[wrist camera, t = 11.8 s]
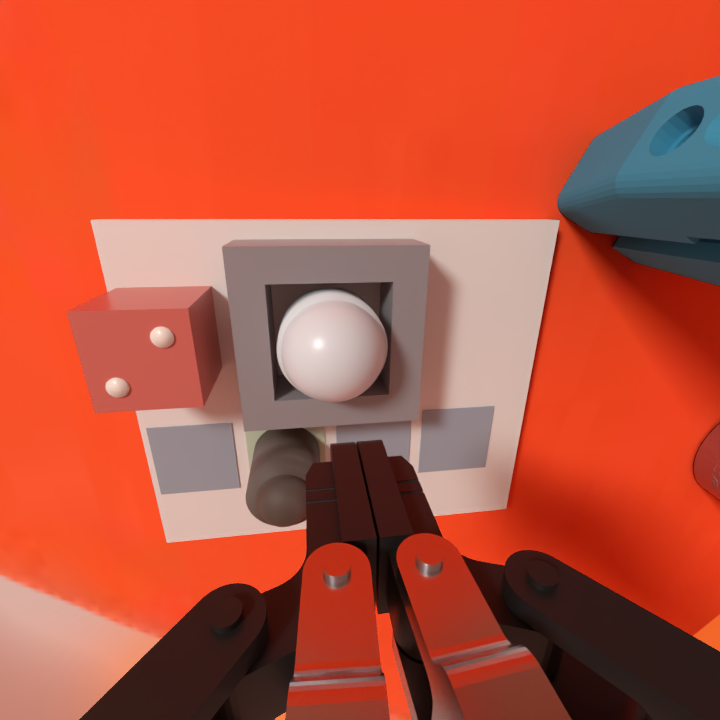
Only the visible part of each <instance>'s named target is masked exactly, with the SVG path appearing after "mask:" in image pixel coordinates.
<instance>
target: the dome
mask: <svg viewBox="0 0 720 720" xmlns="http://www.w3.org/2000/svg"><path fill="white" fill-rule="evenodd" d="M387 350H388V344H387V336H386V332H385V329H384V327H383V325H382V323H381V321H380V320H379V318H378V317H377V315H376V313H375V312H374V310H373V309H372V307H371V306H370V305H369V304H368V303H367V302H366V301H365V300H364V299H363V298H362V297H360V296H359V295H357V294H356V293H353V292H351V291H349V290H346V289H342V288H336V287H325V288H319V289H315V290H312V291H309V292H307V293H305V294H303V295H302V296H300V297H299V298H298V299H296V300H295V301H294V302H293V303H292V304H291V305H290V307H289V308H288V309H287V311H286V312H285V314H284V316H283V318H282V320H281V324H280V328H279V334H278V340H277V358H278V362H279V366H280V368H281V370H282V372H283V374H284V376H285V377H286V379H287V380H288V381H289V382H290V383H291V384H292V385H293V386H294V387H295V388H296V389H298V390H299V391H301V392H302V393H304V394H305V395H307V396H309V397H311V398H313V399H316V400H320V401H324V402H342V401H346V400H350V399H352V398H355V397H357V396H359V395H360V394H362V393H363V392H364V391H366V390H367V389H368V388H369V387H370V386H371V385H372V384H373V383H374V381H375V380H376V379H377V377H378V375H379V374H380V372H381V370H382V368H383V366H384V364H385V361H386V357H387Z"/></svg>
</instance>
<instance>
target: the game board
mask: <svg viewBox="0 0 720 720" xmlns="http://www.w3.org/2000/svg"><path fill="white" fill-rule="evenodd" d="M559 222H560V220H551V219H97V220H91V224H92V228H93V232H94V237H95V241H96V245H97V249H98V254H99V258H100V262H101V266H102V270H103V275H104V279H105V283H106V287H107V292H109V291H111V290H113V289H115V288H134V287H183V286H211V287H212V295H213V302H214V309H215V317H216V324H217V331H218V339H219V346H220V354H221V361H222V369H221V371H220V374H219V376H218V378H217V380H216V382H215V384H214V386H213V388H212V391H211V393H210V395H209V397H208V399H207V401H206V403H205V405H204V407H192V408H175V409H158V410H141V411H136V414H137V418H138V422H139V427H140V431H141V435H142V439H143V444H144V448H145V452H146V456H147V460H148V465H149V469H150V473H151V477H152V482H153V486H154V490H155V494H156V499H157V503H158V507H159V511H160V515H161V520H162V524H163V528H164V532H165V537H166V541H167V543H169V542H179V541H189V540H199V539H209V538H219V537H229V536H239V535H249V534H259V533H269V532H279V531H289V530H299V529H306V521H304V522H302V523H299V524H296V525H292V526H288V527H277V526H272V525H269V524H266V523H263V522H261V521H260V520H258V519H257V518H255V517H254V516H253V515H252V514H251V512H250V511H249V509H248V507H247V504H246V490H247V485H248V480H249V474H250V469H251V464H252V459H253V453H254V448H255V445H256V442H257V440H258V439H259V437H260V436H261V435H262V434H263V433H264V432H266V431H267V430H262V431H247V432H244V426H243V417H242V409H241V401H240V393H239V384H238V376H237V368H236V360H235V352H234V343H233V335H232V327H231V319H230V310H229V302H228V294H227V286H226V277H225V269H224V261H223V253H222V246H224V245H225V244H227V243H229V242H230V241H232V240H252V239H415V240H418V241H421V242H423V243H426V244H429V245H430V258H429V272H428V286H427V300H426V314H425V328H424V342H423V356H422V370H421V385H420V399H419V413H418V420H411V421H396V422H381V423H366V424H351V425H336V426H321V427H306V428H304V429H306V430H308V431H309V432H310V433H311V434H313V436H314V437H315V438H316V440H317V442H318V445H319V450H320V462H330V461H331V460H330V444H332V443H344V442H355V443H357V441H369V440H382V441H383V444H384V447H385V450H386V453H387V456H388V457H389V456H402V457H403V458H405V459H406V460H407V461H408V462H409V463H410V464H411V465H412V466H413V467H414V470H415V472H416V475H417V477H418V480H419V482H420V484H421V486H422V489H423V493H424V494H425V496H426V498H427V501H428V503H429V506H430V508H431V510H432V513H433V515H434V516H440V515H450V514H460V513H470V512H480V511H490V510H500V509H506V507H507V501H508V496H509V491H510V485H511V480H512V474H513V469H514V464H515V458H516V453H517V448H518V442H519V437H520V431H521V426H522V421H523V415H524V410H525V405H526V399H527V394H528V388H529V383H530V378H531V372H532V367H533V362H534V356H535V351H536V345H537V340H538V335H539V329H540V324H541V319H542V313H543V308H544V302H545V297H546V292H547V286H548V281H549V275H550V270H551V265H552V259H553V254H554V249H555V243H556V238H557V232H558V227H559ZM325 287H336V288H342V289H346V290H349V291H351V292H353V293H356V294H357V295H359V296H360V297H362V298H363V299H364V300H365V301H366V302H367V303H368V304H369V305H370V306H371V307H372V309H373V310H374V312H375V313H376V315H377V317H378V318H379V320H380V282H368V283H319V284H271V292H272V304H273V317H274V330H275V342H276V355H277V340H278V334H279V328H280V324H281V320H282V318H283V316H284V314H285V312H286V311H287V309H288V308H289V307H290V305H291V304H292V303H293V302H294V301H295V300H296V299H298V298H299V297H300V296H302V295H303V294H305V293H307V292H309V291H312V290H315V289H319V288H325ZM277 368H278V375H284V374H283V372H282V370H281V368H280V366H279V362H278V358H277Z"/></svg>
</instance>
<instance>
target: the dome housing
mask: <svg viewBox="0 0 720 720" xmlns="http://www.w3.org/2000/svg"><path fill="white" fill-rule="evenodd" d="M222 253H223V261H224V269H225V277H226V286H227V294H228V302H229V310H230V319H231V327H232V335H233V343H234V352H235V360H236V368H237V376H238V384H239V393H240V401H241V409H242V417H243V426H244V432H247V431H262V430H277V429H292V428H306V427H321V426H336V425H351V424H366V423H381V422H396V421H411V420H418V413H419V399H420V385H421V370H422V356H423V342H424V328H425V314H426V300H427V286H428V272H429V258H430V245H429V244H426V243H423V242H421V241H418V240H415V239H252V240H232V241H230V242H229V243H227V244H225V245H224V246H222ZM368 282H380V321H381V323H382V325H383V327H384V329H385V332H386V336H387V344H388V350H387V357H386V361H385V364H384V366H383V368H382V370H381V372H380V374H379V375H378V377H377V379H376V380H375V381H374V383H373V384H372V385H371V386H370V387H369V388H368V389H367V390H366V391H364V392H363V393H362V394H360V395H359V396H357V397H355V398H352V399H350V400H346V401H342V402H324V401H320V400H316V399H313V398H311V397H309V396H307V395H305V394H304V393H302V392H301V391H299V390H298V389H296V388H295V387H294V386H293V385H292V384H291V383H290V382H289V381H288V380H287V379H286V377H285V376H284V375H278V368H277V355H276V342H275V330H274V317H273V304H272V292H271V284H319V283H368Z"/></svg>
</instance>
